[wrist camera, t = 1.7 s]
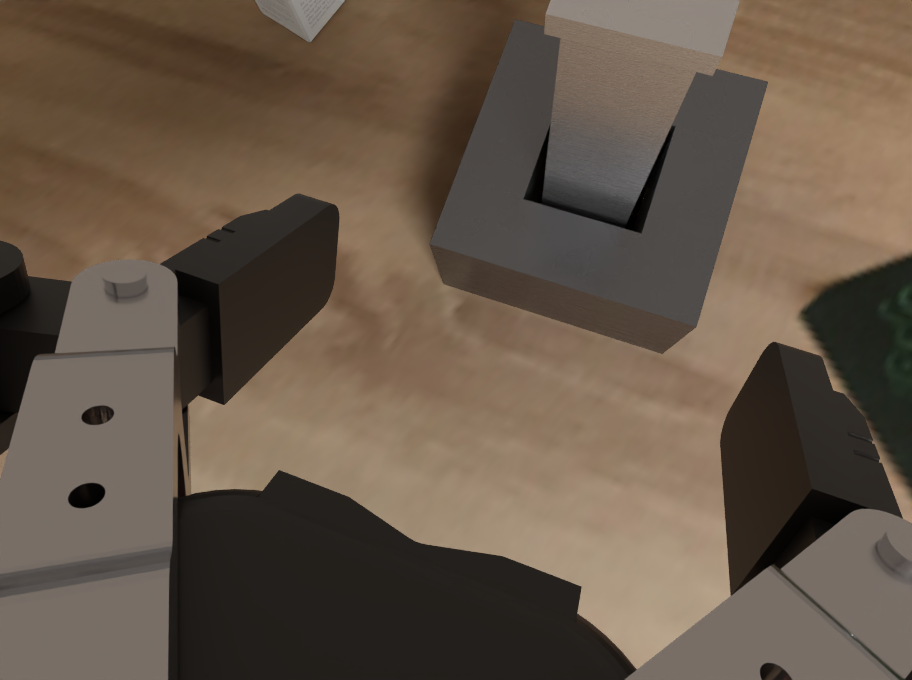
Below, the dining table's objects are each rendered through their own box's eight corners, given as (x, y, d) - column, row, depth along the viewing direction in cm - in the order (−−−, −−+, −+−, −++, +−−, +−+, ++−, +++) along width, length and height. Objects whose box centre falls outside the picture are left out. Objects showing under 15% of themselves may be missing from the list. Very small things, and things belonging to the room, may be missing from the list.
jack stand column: (528, 241, 34) (545, 13, 17) (555, 162, 34) (597, -127, 18) (615, 267, 33) (722, 56, 16) (641, 186, 34) (768, -92, 17)
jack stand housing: (443, 283, 34) (428, 240, 27) (514, 93, 36) (515, 11, 29) (662, 353, 32) (699, 323, 26) (723, 149, 34) (772, 74, 28)
